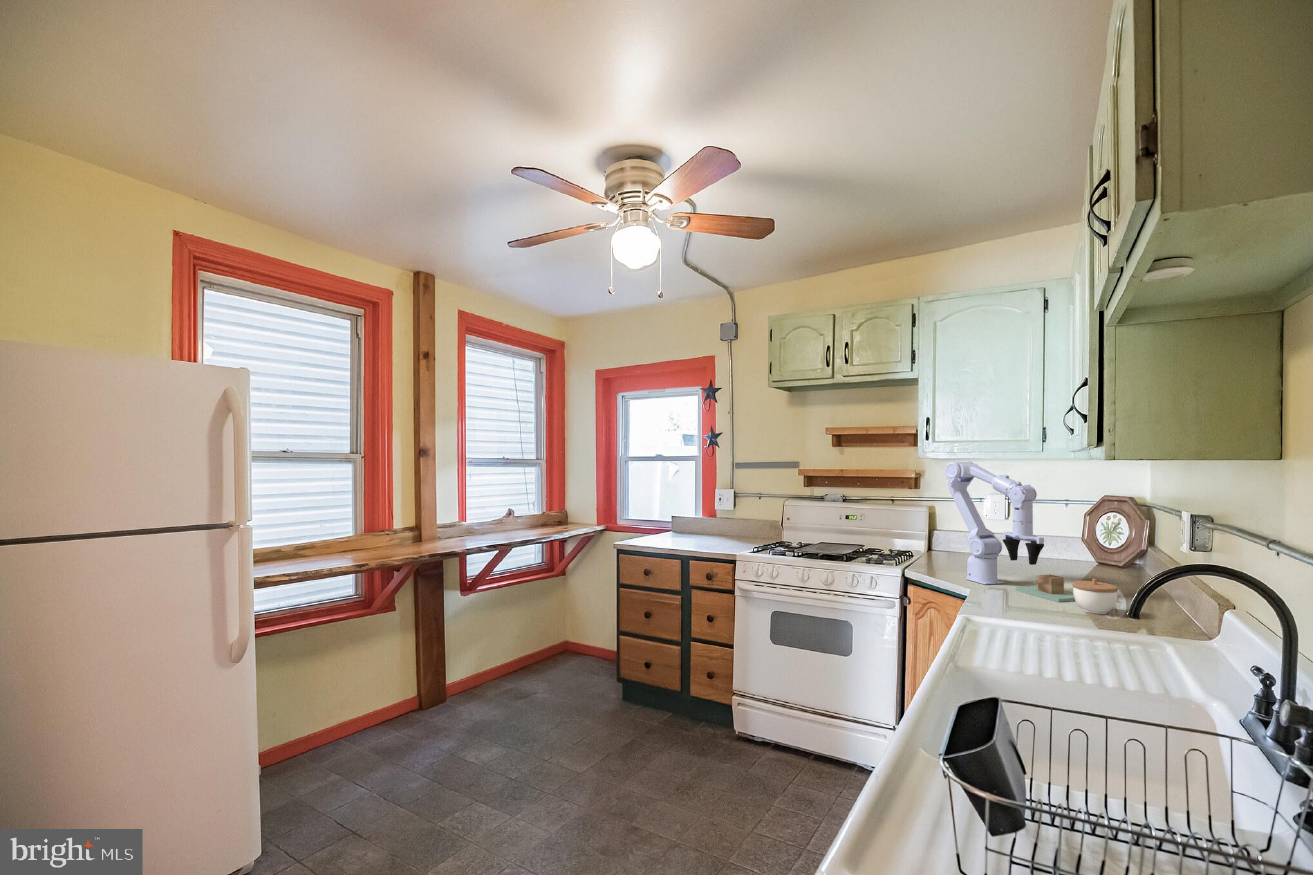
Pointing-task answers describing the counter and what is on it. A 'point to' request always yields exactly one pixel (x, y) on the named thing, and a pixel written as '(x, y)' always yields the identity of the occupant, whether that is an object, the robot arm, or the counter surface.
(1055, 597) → the sage board
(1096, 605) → the lidded jar
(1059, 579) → the walnut block
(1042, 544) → the robot arm
